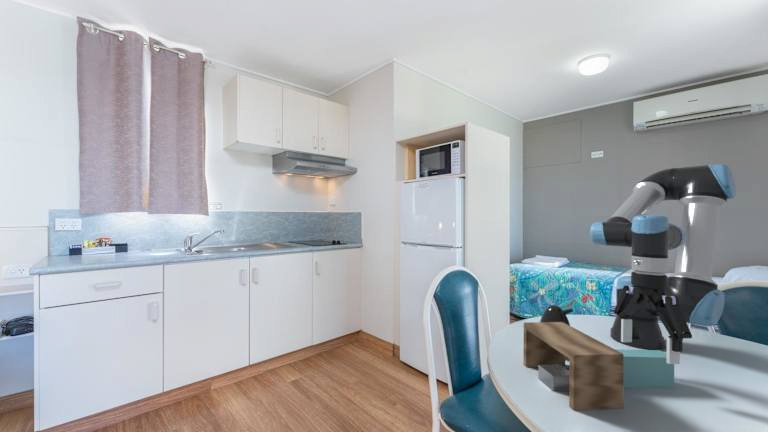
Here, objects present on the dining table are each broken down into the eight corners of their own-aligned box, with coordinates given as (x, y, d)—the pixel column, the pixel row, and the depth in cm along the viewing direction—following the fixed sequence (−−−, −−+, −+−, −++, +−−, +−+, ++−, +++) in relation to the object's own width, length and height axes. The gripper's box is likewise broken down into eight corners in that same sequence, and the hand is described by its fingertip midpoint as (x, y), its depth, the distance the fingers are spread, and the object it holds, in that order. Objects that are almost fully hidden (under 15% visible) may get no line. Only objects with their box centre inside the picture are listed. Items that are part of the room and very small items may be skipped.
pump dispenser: (578, 360, 96) (579, 310, 96) (542, 357, 98) (542, 308, 98) (566, 346, 106) (567, 302, 106) (533, 344, 108) (534, 300, 108)
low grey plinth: (558, 378, 86) (559, 363, 86) (574, 390, 80) (574, 374, 80) (538, 379, 85) (538, 364, 85) (553, 391, 79) (553, 376, 79)
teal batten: (659, 379, 86) (659, 350, 86) (674, 388, 81) (674, 357, 81) (573, 377, 87) (573, 348, 87) (583, 385, 82) (583, 355, 82)
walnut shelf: (561, 363, 94) (562, 321, 94) (623, 408, 72) (623, 354, 72) (523, 364, 93) (523, 322, 93) (573, 410, 71) (574, 355, 71)
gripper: (600, 265, 97) (599, 334, 96) (683, 281, 72) (682, 374, 71) (623, 265, 97) (622, 334, 97) (713, 282, 72) (712, 374, 72)
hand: (647, 351), depth 84 cm, fingers open, 13 cm apart
